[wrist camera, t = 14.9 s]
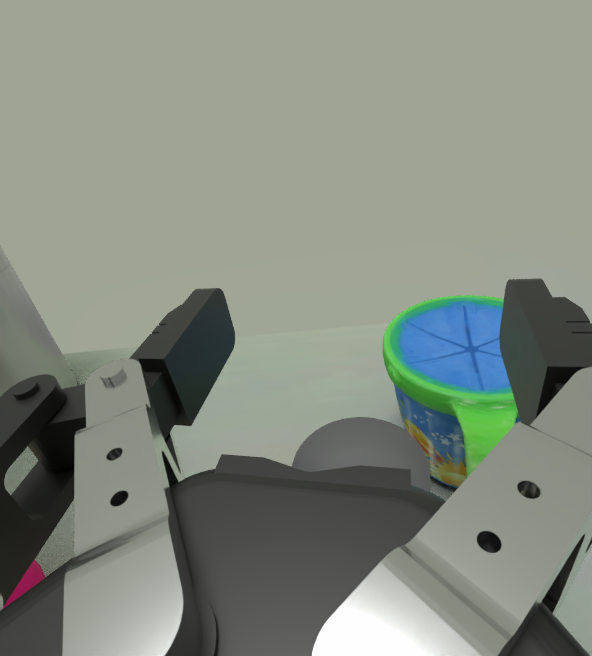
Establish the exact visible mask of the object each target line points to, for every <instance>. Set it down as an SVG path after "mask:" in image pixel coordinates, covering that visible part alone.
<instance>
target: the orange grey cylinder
mask: <svg viewBox="0 0 592 656" xmlns="http://www.w3.org/2000/svg"><path fill="white" fill-rule="evenodd" d="M359 465H362V466H375V467H388V468H400V469H411V485H412V486H415V487H418V488H421V489H424V490H426V491H428V492H430V467H429V463H428V459H427V457H426V454H425V452H424V450H423V449H422V447H421V446H420V444H419V443H418V442H417V441H416V439H415V438H413V437H412V436H411V435H410V434H409V433H408V432H406V431H405V430H403V429H402V428H400V427H398V426H396V425H394V424H392V423H390V422H387V421H383V420H379V419H375V418H367V417H356V418H347V419H342V420H338V421H335V422H332V423H329V424H327V425H325V426H323V427H321V428H320V429H318V430H316V431H315V432H314V433H312V434H311V435H310V436H309V437H308V438H307V439H306V440H305V441H304V442H303V443H302V445H301V446H300V448H299V449H298V451H297V453H296V455H295V458H294V461H293V465H292V467H293V468H296V469H299V470H302V471H306V472H315V471H322V470H329V469H337V468H344V467H351V466H359Z"/></svg>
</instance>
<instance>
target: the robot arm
mask: <svg viewBox="0 0 592 656" xmlns="http://www.w3.org/2000/svg"><path fill="white" fill-rule="evenodd" d="M499 343H500V351H501V355H502V359H503V362H504V365H505V369H506V372H507V376H508V379H509V382H510V386H511V389H512V393H513V396H514V399H515V403H516V406H517V410H518V413H519V416H520V420H521V422H518V423H516V424H515V425H514V426H513V427H512V428H511V429H510V430H509V432H508V433H507V434H506V435H505V436H504V437H503V438H502V439H501V440H500V442H499V443H498V444H497V445H496V446H495V447H494V448H493V449H492V451H491V452H490V453H489V454H488V455H487V456H486V457H485V458H484V460H483V461H482V462H481V463H480V464H479V465H478V466H477V467H476V468H475V470H474V471H473V472H472V473H471V474H470V475H469V476H468V477H467V479H466V480H465V481H464V482H463V483H462V484H461V485H460V486H459V488H458V489H457V490H456V491H455V492H454V493H453V494H452V495H451V496H450V498H449V499H448V500H447V501H445V500H443V499H441V498H440V497H438V496H436V495H434V494H433V493H430V492H428V491H426V490H424V489H421V488H418V487H415V486H412V485H411V469H400V468H388V467H375V466H362V465H359V466H351V467H344V468H337V469H329V470H322V471H315V472H306V471H302V470H299V469H296V468H293V467H290V466H287V465H284V464H281V463H278V462H275V461H272V460H269V459H267V458H262V457H249V456H236V455H224V454H222V455H221V457H220V459H219V462H218V464H217V466H216V469H213V470H208V471H204V472H200V473H198V474H195V475H192V476H190V477H187V478H185V477H184V473H183V470H182V466H181V463H180V459H179V455H178V452H177V448H176V445H175V441H174V438H173V436H172V434H171V429H172V428H173V426H174V425H184V426H191V425H192V423H193V422H194V420H195V418H196V416H197V414H198V412H199V411H200V409H201V407H202V405H203V403H204V401H205V400H206V398H207V396H208V394H209V392H210V391H211V389H212V387H213V385H214V383H215V381H216V380H217V378H218V376H219V374H220V372H221V370H222V369H223V367H224V365H225V363H226V361H227V360H228V358H229V356H230V354H231V352H232V350H233V348H234V344H235V332H234V328H233V324H232V320H231V317H230V314H229V310H228V306H227V303H226V299H225V296H224V293H223V291H222V290H221V289H219V288H213V289H212V288H211V289H196V290H194V291H193V292H192V294H191V295H190V296H189V297H188V299H187V300H186V301H185V302H184V303H183V305H180V306H178V307H177V308H176V309H174V310H173V311H171V312H170V313H168V314H167V315H166V316H165V317H164V319H163V320H162V321H161V322H160V323H159V326H157V327H156V328H155V329H154V330H153V332H152V334H150V335H149V336H148V337H147V339H146V340H145V341H144V342H143V343H142V344H141V346H140V347H139V348H138V349H137V350H136V352H135V353H134V354H133V355H132V356H131V357H130V359H120V360H116V361H112V362H110V363H107V364H105V365H103V366H101V367H100V368H98V369H97V370H95V371H94V372H93V373H92V374H91V375H90V376H89V377H88V379H87V380H86V383H85V384H83V385H78V386H77V380H76V378H75V376H74V374H73V373H72V371H71V369H70V367H69V366H68V364H67V362H66V360H65V359H64V357H63V355H62V353H61V351H60V349H59V348H58V346H57V344H56V342H55V341H54V339H53V337H52V335H51V333H50V332H49V330H48V328H47V326H46V325H45V323H44V321H43V319H42V318H41V316H40V314H39V312H38V311H37V309H36V307H35V305H34V304H33V302H32V300H31V298H30V297H29V295H28V293H27V291H26V290H25V288H24V286H23V284H22V282H21V281H20V279H19V277H18V275H17V274H16V272H15V270H14V268H13V267H12V265H11V263H10V261H9V260H8V258H7V257H6V255H5V253H4V251H3V250H2V248H1V246H0V656H590V655H589V654H588V653H587V652H586V651H585V650H584V649H583V647H582V646H581V645H580V644H579V643H578V642H577V641H576V640H575V638H574V637H573V636H572V635H571V634H570V633H569V632H568V630H567V629H566V628H565V627H564V626H563V625H562V624H561V623H560V621H559V620H558V619H557V618H556V617H555V614H556V612H557V610H558V609H559V607H560V605H561V603H562V602H563V600H564V598H565V596H566V594H567V592H568V590H569V589H570V587H571V585H572V583H573V581H574V579H575V577H576V575H577V573H578V571H579V569H580V567H581V565H582V564H583V562H584V560H585V558H586V557H587V555H588V553H589V552H590V550H591V548H592V324H590V321H589V319H588V317H587V316H586V314H585V313H584V311H583V309H582V308H581V307H579V306H578V305H576V304H575V303H573V302H571V301H570V300H568V299H567V298H565V297H553V298H552V296H551V294H550V292H549V290H548V289H547V287H546V285H545V283H544V282H543V280H542V279H516V280H515V279H513V280H508V282H507V285H506V289H505V296H504V303H503V310H502V318H501V325H500V334H499ZM27 446H28V447H29V448H30V449H31V451H32V452H33V454H34V455H35V456H36V458H37V459H38V460H39V461H38V462H37V464H36V465H35V466H34V467H33V469H32V470H31V471H30V472H29V474H28V475H27V476H26V477H25V479H24V480H23V481H22V482H21V484H20V485H19V486H18V487H17V489H16V490H15V491H14V492H13V494H12V495H11V496H10V494H9V493H8V492H7V491H6V489H5V486H4V478H5V474H6V472H7V470H8V468H9V467H10V466H11V465H12V464H13V462H14V461H15V460H16V459H17V458H18V456H19V455H20V454H21V453H22V452H23V451H24V449H25V448H26V447H27ZM73 500H74V557H73V558H72V559H70V560H69V561H68V562H66V563H65V564H64V565H62V566H61V567H59V568H58V569H57V570H55V571H54V572H53V573H51V574H50V575H48V576H47V577H46V578H44V579H43V580H42V581H40V582H39V583H37V584H36V585H35V586H33V587H32V588H31V589H29V590H28V591H27V592H25V593H24V594H22V595H21V596H20V597H18V598H17V599H16V600H14V601H13V602H11V603H10V604H9V605H7V606H6V607H5V608H3V607H4V605H5V604H6V602H7V601H8V599H9V598H10V596H11V595H12V593H13V592H14V590H15V588H16V587H17V585H18V584H19V582H20V581H21V579H22V578H23V576H24V575H25V573H26V572H27V570H28V569H29V567H30V565H31V564H32V562H33V561H34V559H35V558H36V556H37V555H38V553H39V552H40V550H41V549H42V547H43V546H44V544H45V542H46V541H47V539H48V538H49V536H50V535H51V533H52V532H53V530H54V529H55V527H56V526H57V524H58V523H59V521H60V519H61V518H62V516H63V515H64V513H65V512H66V510H67V509H68V507H69V506H70V504H71V503H72V501H73Z"/></svg>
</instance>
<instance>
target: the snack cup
mask: <svg viewBox="0 0 592 656" xmlns="http://www.w3.org/2000/svg"><path fill="white" fill-rule="evenodd" d="M503 303H504V299H501V298H495V297H487V296H474V295H471V296H470V295H467V296H449V297H442V298H436V299H431V300H428V301H424V302H421V303H419V304H416V305H414V306H412V307H410V308H408V309H406V310H405V311H403V312H401V313H400V314H399V315H398V316H396V317H395V318H394V319H393V321H392V322H391V323H390V324H389V325H388V327H387V329H386V331H385V334H384V338H383V357H384V362H385V366H386V369H387V371H388V374H389V377H390V378H391V380H392V381H393V383H394V386H395V391H396V396H397V401H398V405H399V409H400V414H401V418H402V420H403V426H404V430H405V431H406V432H408V433H409V434H410V435H411V436H412V437H413V438H415V439H416V441H417V442H418V443H419V444H420V446H421V447H422V449H423V450H424V452H425V454H426V457H427V459H428V463H429V467H430V476H431V477H433V478H434V479H436V480H438V481H440V482H442V483H443V484H445V485H448V486H452V487H454V488H459V486H460V485H461V484H462V483H463V482H464V481H465V480H466V479H467V477H468V476H469V475H470V474H471V473H472V472H473V471H474V470H475V468H476V467H477V466H478V465H479V464H480V463H481V462H482V461H483V460H484V458H485V457H486V456H487V455H488V454H489V453H490V452H491V451H492V449H493V448H494V447H495V446H496V445H497V444H498V443H499V442H500V440H501V439H502V438H503V437H504V436H505V435H506V434H507V433H508V432H509V430H510V429H511V428H512V427H513V426H514V425H515V424H516V423H518V422H521V420H520V416H519V413H518V410H517V406H516V403H515V399H514V396H513V393H512V389H511V386H510V382H509V379H508V376H507V372H506V369H505V365H504V362H503V359H502V355H501V351H500V343H499V334H500V325H501V318H502V310H503Z"/></svg>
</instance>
